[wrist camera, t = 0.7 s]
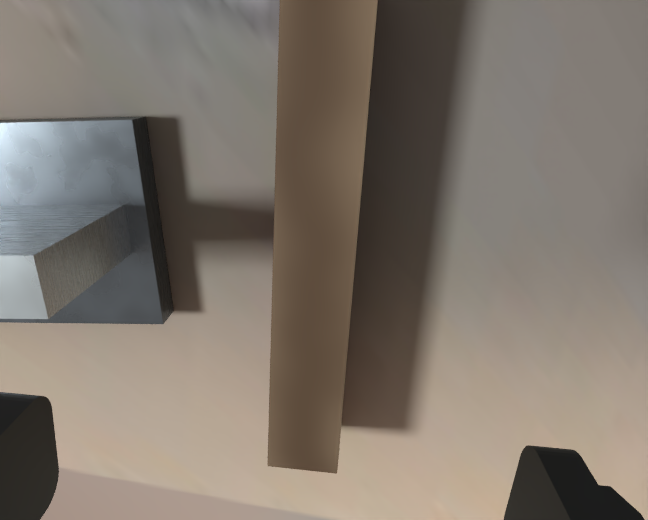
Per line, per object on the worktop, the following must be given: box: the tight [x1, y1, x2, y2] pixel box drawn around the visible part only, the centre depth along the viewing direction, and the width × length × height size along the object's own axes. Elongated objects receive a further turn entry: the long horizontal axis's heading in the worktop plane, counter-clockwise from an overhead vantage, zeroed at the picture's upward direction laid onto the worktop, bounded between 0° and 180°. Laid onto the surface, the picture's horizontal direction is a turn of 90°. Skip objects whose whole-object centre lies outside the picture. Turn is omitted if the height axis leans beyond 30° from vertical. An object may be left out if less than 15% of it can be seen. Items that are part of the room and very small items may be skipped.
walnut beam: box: [268, 0, 378, 473], centre depth 24 cm, size 4×22×4 cm, turn 177°
